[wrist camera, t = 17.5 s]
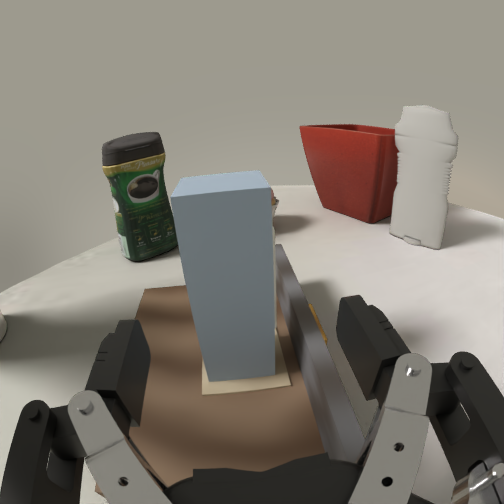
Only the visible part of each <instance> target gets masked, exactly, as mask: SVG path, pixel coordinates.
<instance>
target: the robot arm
mask: <svg viewBox="0 0 504 504" xmlns="http://www.w3.org/2000/svg"><path fill="white" fill-rule="evenodd" d="M6 330H7V323H6V321H5V319H4V317H3V315H2V313H1V311H0V341H1V340H2V338H3V337H4V335H5V332H6ZM336 332H337V338H338V341H339V343H340V345H341V347H342V349H343V351H344V353H345V355H346V358H347V360H348V362H349V364H350V366H351V368H352V370H353V372H354V374H355V377H356V379H357V381H358V383H359V385H360V387H361V390H362V392H363V394H364V396H365V398H366V400H367V401H368V400H372V399H375V398H376V399H377V401H378V403H379V404H378V406H377V409H376V412H375V415H374V417H373V420H372V423H371V426H370V429H369V431H368V434H367V437H366V439H365V442H364V444H363V446H362V449H361V451H360V453H359V455H358V457H357V459H356V461H355V463H353V462H350V461H345V460H337V459H329V456H328V452H326V453H322V454H317V455H313V456H308V457H303V458H298V459H294V460H292V461H289V462H287V463H284V464H282V465H279V466H277V467H274V468H271V469H269V470H266V471H262V472H257V471H247V470H239V469H232V468H210V469H193V476H192V477H188V478H185V479H183V480H180V481H178V482H176V483H174V484H173V485H171V486H168V485H167V484H166V483H165V482H164V481H163V480H162V478H161V477H160V476H159V475H158V474H157V473H156V471H155V470H154V469H153V468H152V466H151V465H150V464H149V462H148V461H147V460H146V458H145V457H144V456H143V454H142V453H141V451H140V450H139V449H138V447H137V446H136V444H135V443H134V441H133V440H132V438H131V437H130V436H129V430H130V427H140V422H141V415H142V409H143V402H144V396H145V390H146V384H147V378H148V373H149V367H150V362H151V354H150V348H149V345H148V343H147V340H146V337H145V335H144V332H143V329H142V327H141V324H140V322H139V320H137V319H136V320H120V321H119V323H118V325H117V328H116V331H115V333H109V334H108V336H107V337H106V338H105V339H104V340H103V341H102V343H101V345H100V348H99V351H98V354H97V356H96V359H95V362H94V364H93V367H92V370H91V373H90V376H89V379H88V382H87V385H86V388H85V390H84V391H82V392H79V393H77V394H76V395H75V396H73V397H72V399H71V400H70V402H69V404H68V405H66V406H61V407H56V408H49V406H48V405H47V404H46V403H45V402H44V401H41V400H34V401H31V402H29V403H28V404H26V405H25V406H24V408H23V409H22V411H21V414H20V417H19V420H18V423H17V426H16V430H15V433H14V436H13V440H12V443H11V447H10V451H9V454H8V458H7V463H6V467H5V471H4V476H3V481H2V486H1V491H0V504H79V503H80V491H81V481H82V472H83V464H84V457H86V458H85V461H86V464H87V466H88V468H89V470H90V472H91V474H92V475H93V477H94V479H95V481H96V483H97V484H98V486H99V488H100V490H101V491H102V493H103V495H104V496H105V498H106V500H107V501H108V503H109V504H434V503H432V502H429V501H427V500H425V499H423V498H421V497H419V496H417V495H415V494H413V493H411V491H412V488H413V485H414V481H415V478H416V475H417V471H418V468H419V464H420V461H421V457H422V453H423V449H424V444H425V440H426V435H427V431H428V426H429V420H430V422H431V424H432V426H433V429H434V431H435V433H436V435H437V437H438V440H439V442H440V444H441V446H442V449H443V451H444V453H445V456H446V458H447V460H448V463H449V465H450V467H451V470H452V472H453V475H454V477H455V480H456V482H457V483H456V485H455V487H454V489H453V494H452V498H451V502H452V504H504V397H503V395H502V394H501V392H500V391H499V389H498V388H497V386H496V385H495V383H494V382H493V380H492V379H491V377H490V376H489V374H488V373H487V371H486V370H485V368H484V367H483V365H482V364H481V363H480V361H479V360H478V358H477V357H475V356H474V355H473V354H471V353H468V352H457V353H455V354H454V355H453V356H452V358H451V360H450V362H449V363H430V362H429V361H428V360H427V359H426V358H425V357H423V356H421V355H419V354H415V353H411V352H410V350H409V349H408V347H407V346H406V345H405V343H404V342H403V340H402V339H401V337H400V336H399V334H398V333H397V332H396V330H395V329H393V326H392V324H391V323H390V322H388V319H387V317H386V316H385V315H384V313H383V312H382V311H381V310H379V309H378V308H376V307H375V306H373V305H369V306H368V305H367V304H366V303H365V301H364V300H363V298H362V297H361V296H360V295H355V296H349V297H343V298H341V300H340V304H339V312H338V319H337V326H336ZM460 403H461V404H462V405H463V407H464V409H465V411H466V413H467V415H468V416H469V419H470V421H469V419H468V417H467V415H466V413H465V412H464V410H463V408H462V406H461V404H460ZM49 453H50V456H49ZM87 456H88V457H87ZM48 458H49V461H48ZM47 463H48V466H47Z"/></svg>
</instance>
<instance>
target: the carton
mask: <svg viewBox="0 0 504 504" xmlns="http://www.w3.org/2000/svg"><path fill="white" fill-rule="evenodd" d="M171 204H172V210H173V217H174V223H175V229H176V235H177V241H178V246H179V252H180V257H181V262H182V267H183V273H184V278H185V282H186V287H187V292H188V297H189V301H190V306H191V311H192V315H193V319H194V324H195V328H196V332H197V337H198V341H199V345H200V349H201V353H202V357H203V361H204V365H205V369H206V372H207V376H208V380H209V382H214V381H226V380H237V379H247V378H256V377H264V376H271V375H275V328H277V316H276V259H275V229H274V227H273V225H272V205H271V187H270V185H269V184H268V182H267V181H266V180H265V178H264V177H263V175H262V174H261V172H260V171H259V170H257V171H245V172H232V173H222V174H212V175H204V176H203V175H202V176H194V177H186V178H181V180H180V181H179V183H178V185H177V187H176V188H175V190H174V192H173V194H172V196H171Z"/></svg>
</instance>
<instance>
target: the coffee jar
mask: <svg viewBox="0 0 504 504" xmlns="http://www.w3.org/2000/svg"><path fill="white" fill-rule="evenodd" d="M102 155H103V157H102V159H103V160H102V161H103V166H102V167H103V171H104V174H105V175H106V177H107V179H108V180H109V183H110V187H111V192H112V196H113V202H114V209H115V216H116V223H117V231H118V237H119V243H120V247H121V251H122V253H123V255H124V256H125V257H126V258H127V259H129V260H134V261H140V260H144V259H147V258H150V257H153V256H156V255H158V254H161V253H164V252H166V251H169V250H171V249H173V248H175V247H176V246H177V244H178V241H177V235H176V229H175V223H174V217H173V214H172V210H171V207H170V203H169V200H168V196H167V191H166V187H165V182H164V174H163V167H164V162H165V151H164V147H163V144H162V140H161V137H160V134H159V133H158V132H146V133H137V134H131V135H126V136H123V137H120V138H117V139H114V140H111V141H109V142H106V143H104V144H103V147H102Z"/></svg>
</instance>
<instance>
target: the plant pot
mask: <svg viewBox="0 0 504 504" xmlns="http://www.w3.org/2000/svg"><path fill="white" fill-rule="evenodd" d="M300 132H301V138H302V142H303V147H304V151H305V155H306V158H307V162H308V165H309V169H310V172H311V175H312V178H313V181H314V184H315V187H316V190H317V193H318V196H319V198H320V201H321V203H322V206H323V207H325V208H328V209H330V210H333V211H336V212H339V213H342V214H345V215H347V216H350V217H353V218H356V219H359V220H361V221H364V222H367V223H375V222H377V221H379V220H381V219H383V218H386V217H388V216H390V215H392V207H393V197H394V191H395V189H396V186H397V184H398V182H397V175H398V173H397V172H398V171H397V170H398V166H397V165H398V161H399V160H398V158H399V157H398V156H397V153H399V150H398V148H397V147H396V145H395V129H389V128H381V127H373V126H365V125H353V124H348V125H347V124H344V125H342V124H341V125H340V124H339V125H309V126H300Z"/></svg>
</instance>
